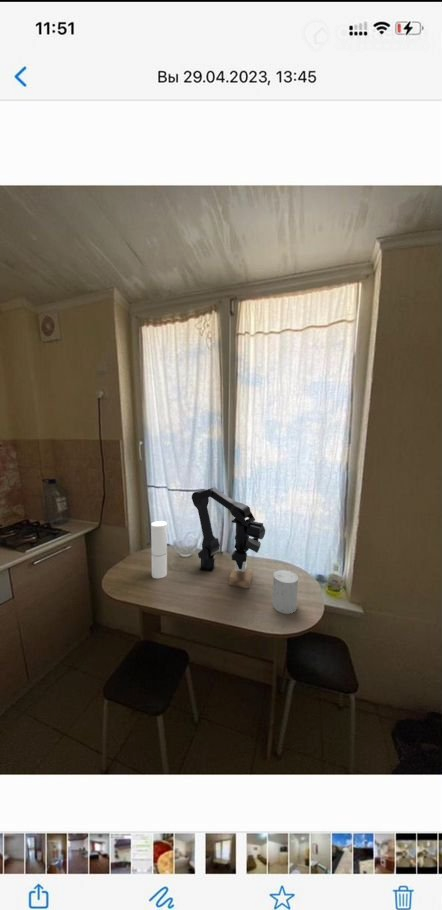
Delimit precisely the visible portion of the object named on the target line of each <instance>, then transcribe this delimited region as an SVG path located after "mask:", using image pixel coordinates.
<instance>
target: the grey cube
mask: <svg viewBox="0 0 442 910" xmlns="http://www.w3.org/2000/svg"><path fill="white" fill-rule="evenodd" d="M247 562H248V560H246V562H243V565H242V569H239V568H238V565H237V563H236V562H235V567H236V571H243V572H245V571H246V569H247Z"/></svg>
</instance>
